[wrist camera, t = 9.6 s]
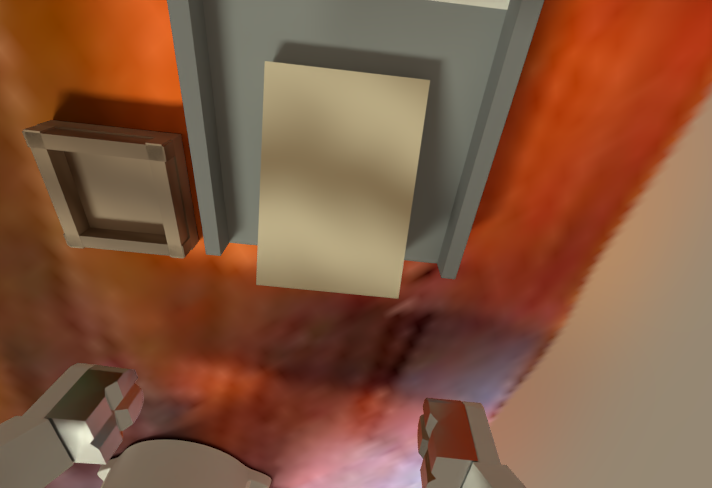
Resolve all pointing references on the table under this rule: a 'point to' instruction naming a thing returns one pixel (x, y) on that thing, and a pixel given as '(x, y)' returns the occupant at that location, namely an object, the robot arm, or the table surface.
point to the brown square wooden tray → (117, 186)
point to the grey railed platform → (360, 54)
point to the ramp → (337, 178)
